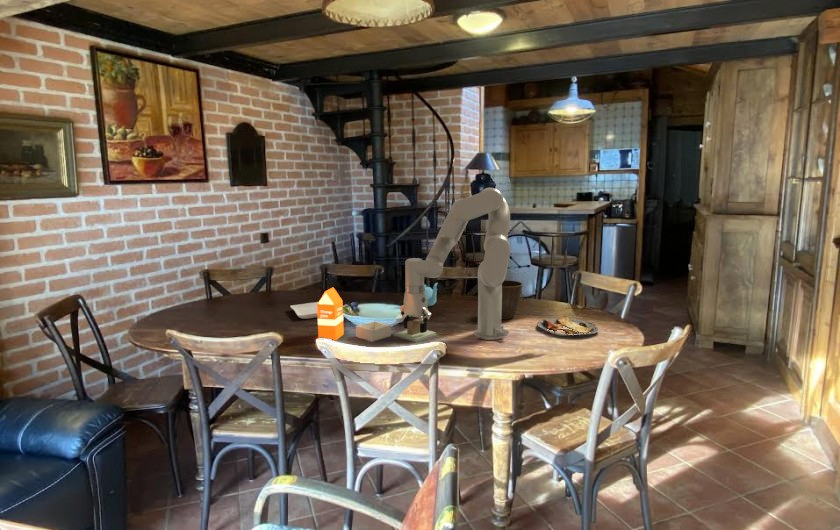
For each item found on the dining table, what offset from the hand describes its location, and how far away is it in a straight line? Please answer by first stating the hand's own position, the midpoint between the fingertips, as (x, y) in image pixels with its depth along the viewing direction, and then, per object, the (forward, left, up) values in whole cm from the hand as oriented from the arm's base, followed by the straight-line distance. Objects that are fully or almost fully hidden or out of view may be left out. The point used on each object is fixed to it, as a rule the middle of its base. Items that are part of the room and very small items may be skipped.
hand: (415, 329), depth 214 cm
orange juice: (+25, +24, -3) cm, 35 cm away
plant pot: (-10, -49, -3) cm, 50 cm away
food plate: (-41, -50, -3) cm, 65 cm away
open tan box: (+11, +13, -3) cm, 17 cm away
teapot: (+34, -41, -3) cm, 53 cm away
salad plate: (+61, +7, -3) cm, 61 cm away
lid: (0, 0, -2) cm, 2 cm away
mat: (0, 0, -3) cm, 3 cm away
